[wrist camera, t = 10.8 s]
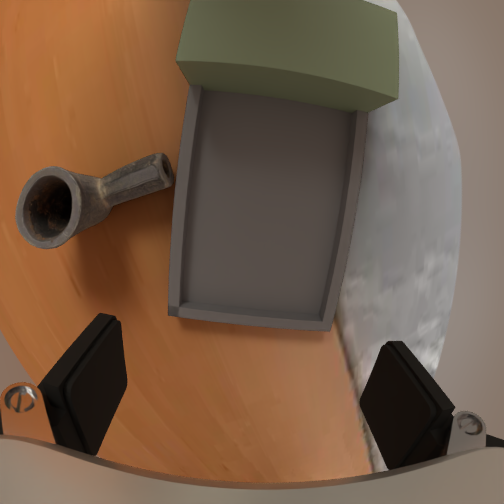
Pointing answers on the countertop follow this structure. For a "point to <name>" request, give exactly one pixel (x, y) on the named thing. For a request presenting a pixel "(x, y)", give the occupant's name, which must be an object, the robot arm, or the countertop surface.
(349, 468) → the countertop surface
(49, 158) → the countertop surface
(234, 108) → the gray tray
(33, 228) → the pipe
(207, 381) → the countertop surface
